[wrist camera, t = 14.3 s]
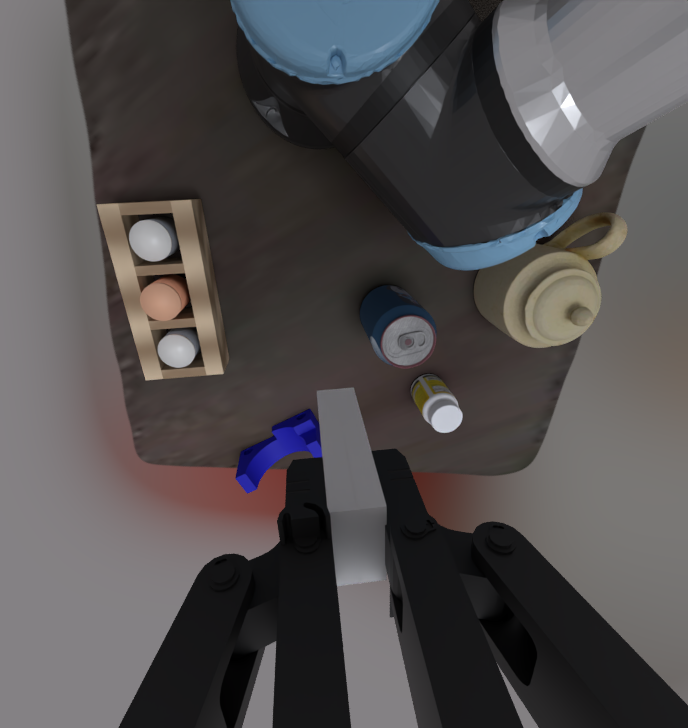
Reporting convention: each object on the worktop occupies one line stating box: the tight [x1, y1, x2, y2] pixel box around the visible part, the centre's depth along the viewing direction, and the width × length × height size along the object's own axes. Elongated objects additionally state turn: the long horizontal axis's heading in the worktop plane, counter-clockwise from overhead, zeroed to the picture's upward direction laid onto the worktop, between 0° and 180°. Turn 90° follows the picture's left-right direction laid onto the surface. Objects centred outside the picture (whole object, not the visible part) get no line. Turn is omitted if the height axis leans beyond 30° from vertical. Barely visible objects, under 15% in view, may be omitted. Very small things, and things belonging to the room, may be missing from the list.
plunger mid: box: [140, 274, 191, 321], centre depth 43 cm, size 4×4×5 cm
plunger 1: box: [129, 217, 180, 261], centre depth 42 cm, size 4×4×5 cm
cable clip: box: [236, 409, 322, 493], centre depth 54 cm, size 12×4×6 cm, turn 116°
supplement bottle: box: [411, 374, 462, 433], centre depth 52 cm, size 5×5×8 cm
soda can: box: [360, 285, 436, 368], centre depth 45 cm, size 7×7×12 cm
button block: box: [97, 199, 229, 380], centre depth 45 cm, size 19×9×4 cm, turn 2°
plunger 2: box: [158, 327, 201, 368], centre depth 47 cm, size 4×4×5 cm
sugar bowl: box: [473, 213, 627, 348], centre depth 44 cm, size 15×11×15 cm
